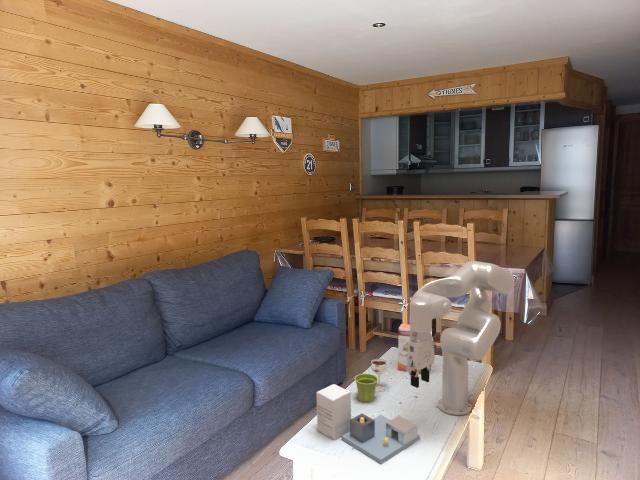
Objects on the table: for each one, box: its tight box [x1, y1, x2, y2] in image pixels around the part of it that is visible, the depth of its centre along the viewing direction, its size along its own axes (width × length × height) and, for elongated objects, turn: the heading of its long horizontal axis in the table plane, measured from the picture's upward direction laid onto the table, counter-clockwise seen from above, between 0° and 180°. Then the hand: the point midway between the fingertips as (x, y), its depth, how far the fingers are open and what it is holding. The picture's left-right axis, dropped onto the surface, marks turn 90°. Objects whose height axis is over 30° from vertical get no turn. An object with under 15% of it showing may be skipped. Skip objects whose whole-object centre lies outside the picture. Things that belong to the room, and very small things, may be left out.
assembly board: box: [341, 414, 421, 465], centre depth 158 cm, size 20×18×9 cm
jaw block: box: [349, 413, 375, 443], centre depth 158 cm, size 6×6×6 cm
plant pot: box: [354, 373, 379, 403], centre depth 186 cm, size 9×9×9 cm
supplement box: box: [315, 383, 352, 441], centre depth 164 cm, size 9×9×15 cm
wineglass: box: [370, 358, 388, 393], centre depth 194 cm, size 7×7×12 cm
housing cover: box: [386, 415, 418, 445], centre depth 158 cm, size 7×8×4 cm
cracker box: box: [397, 323, 432, 374], centre depth 210 cm, size 14×6×21 cm, turn 67°
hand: (420, 383), depth 162 cm, fingers open, 5 cm apart
